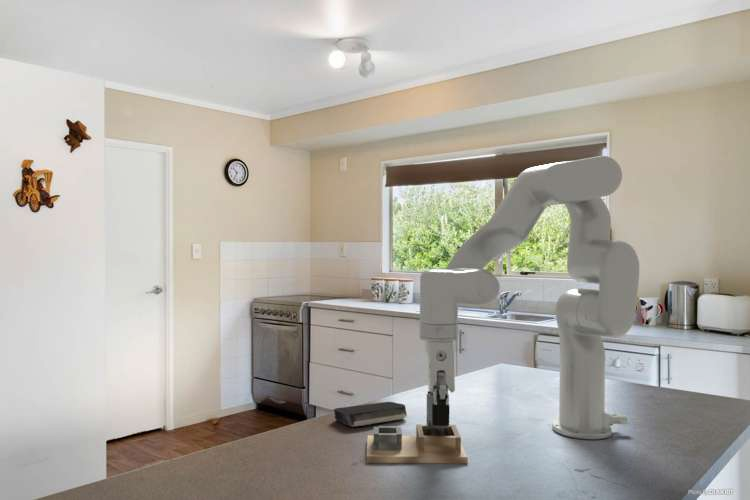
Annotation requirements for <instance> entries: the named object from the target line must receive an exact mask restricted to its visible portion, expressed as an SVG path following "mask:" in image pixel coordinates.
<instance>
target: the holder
mask: <svg viewBox="0 0 750 500" xmlns="http://www.w3.org/2000/svg"><path fill="white" fill-rule="evenodd" d="M415 426H416V427H415V429H416V431H415V435H402V434H403V433H402V427H401V426H397V425H378V426H373V435H371V434H370V435H367V443H366V446H367V447H366V463H374V464H376V463H379V464H381V463H382V464H385V463H386V464H466V465H467V464H468V460H469V459H468V454H467V453H466V450H465V447H464V446H463V444H462V437H461V434H460V433H459V431H458V428H457V426H456V424H449V436H427V424H416V425H415Z"/></svg>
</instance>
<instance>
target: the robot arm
mask: <svg viewBox="0 0 750 500" xmlns="http://www.w3.org/2000/svg"><path fill="white" fill-rule="evenodd" d="M622 180H623V171H622V168H621V166H620V164H619V162H617V161H616V159H614V158H612V157H611V156H609V155H608V156H607V155H598V156H592V157H587V158H582V159H576V160H569V161H560V162H554V163H553V162H552V163H548V164H543V165H538V166H537V165H536V166H532V167H529V168H526V169H524V170H523V171H521V172H520V173H519V174H518V176H516V179H515V180H514V181H513V183H512V184H511V186H510V188H509V189H508V191H507V192H506V194H505V196H504V197H503V199H501V200H502V201H501V202H500V203H499V205H498V206H497V208H496V209H495V211H494V213H493V214H492V216H491V217H490V219H489V220H488V221H487V222H486V223H485V224H484V225H482V226H481V227H480V228H479V229H477V231H476V232H475V233H473V235H471V236H470V237H469V238H468V239H467V240H466V241H464V242H463V244H462V245H461V246H460V247H459V248H458V249H457V251H455V253H454V255H453V256H452V258H451V259H450V261H449V263H447V266H446V267H445V269H442V268H441V269H438V268H437V269H435V268H434V269H425V270H423V271H421V274H420V278H419V279H420V280H419V339H420V340H421V341H425V349H424V350H425V352H424V353H425V355H424V356H425V357H424V358H425V364H424V365H425V378H426V384H427V387H428V391H427V394H428V393H431V392H433V398H434V404H432V424H433V426H448V425H450V398H449V399H448V395H449V392H451V393H454V392H455V391H456V385H455V380H456V379H455V350H454V349H455V348H454V342H455V341H458V335H459V333H458V330H459V329H458V327H459V317H458V316H459V306H460V305H462V306H471V307H484V306H488V305H490V304H492V303H493V302H494V301H495V300H496V299H497V298H498V296H499V293H500V290H501V289H500V288H501V287H500V283H499V280H498V278H497V277H496V275H495V274H494V273H492V272H491V271H489V270H486V269H484V268H485V267H486V266H488V264H490V262H492V261H493V260H494V259H496V258H497V257H499V256H501V255H503V254H505V253H507V252H509V251H512V250H514V249H516V248H517V247H519V246H521V245H522V244H523V243H525V242H526V241H527V239H528V237H529V235H530V234H531V233H532V230H533V229H534V227H535V225H536V224H537V222H538V221H539V219H540V217H542V214H543V213H544V211H545V210H546V209H547V207H548V206H554V205H555V206H558V205H564V206H565V208H566V209H567V212H568V213H569V214H568V215H569V218H570V219H569V220H570V223H569V225H570V227H569V229H570V230H569V238H568V239H569V240H568V247H567V250H568V251H567V261H566V269H567V273H568V275H569V276H570V277H571V278H572V280H574V281H576V282H580V283H586V284H596V285H598V289H591V288H590V289H588V288H572V289H569V290H566V291H565V292H563V293H562V294H561V295H560V296H559V297H558V299H557V301H556V304H555V319H556V325H557V328H558V335H559V336H558V338H559V398H558V399H559V400H558V401H559V402H558V403H559V405H558V406H559V407H558V409H559V410H558V411H559V412H558V415H559V417H558V418H557V419H554V420H553V421H552V422H551V429H552V430H553V431H554V432H556V433H558V434H560V435H562V436H566V437H570V438H574V439H581V440H603V439H607V438H610V437H611V436H612V435H613V428H612V427H613V425H626V426H627V425H628V417H627V415H623V414H622V415H617V413H609V412H607V411H606V408H605V407H606V406H605V405H606V403H605V402H606V399H605V398H606V395H605V393H606V351H605V346H604V342H603V340H602V337H606V338H620V337H623V336H625V335H626V334H627V333H629V331H630V330H631V328H632V327H633V325H634V322H635V317H636V311H637V304H638V303H637V301H638V300H637V299H638V292H639V280H640V261H639V260H640V259H639V256H638V254H637V251H636V250H635V249H634V247H633V246H631V245H630V244H629V243H628V242H626V241H623V240H618V239H611V229H612V227H611V226H612V221H611V214H610V211H609V208H608V206H607V204H606V203H605V201H603V198H605V197H608V196H610V195H612V194H614V193H615V192H616V191H617V190H618V189H619V187H620V185H621V183H622ZM601 336H602V337H601Z"/></svg>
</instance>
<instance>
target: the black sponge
mask: <svg viewBox="0 0 750 500" xmlns="http://www.w3.org/2000/svg"><path fill="white" fill-rule="evenodd" d="M406 409H407V408H406V405H405V404H403V403H398V402H394V401H383V402H376V403H375V402H374V403H368V404H367V403H366V404H360V405H352V406H351V405H350V406H345V407H343V406H342V407H336V408H334V409H333V411H334V412H333V413H334V419H335V420H336V421H337V422H340V423H342V424H343V425H346V426H349V427H359V426H360V427H361V426H369V425H374V424H380V423H385V422H391V421H392V422H393V421H399V420H404V419H405V418H407V410H406Z"/></svg>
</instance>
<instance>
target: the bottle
mask: <svg viewBox="0 0 750 500" xmlns="http://www.w3.org/2000/svg"><path fill="white" fill-rule="evenodd" d="M448 399H449V400H450V395H449V394H448ZM432 404H434V398H433V392H431V393H428V392H427V394H426V425H427V436H449V425H450V424H449V425H448V426H433V424H432Z"/></svg>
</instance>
